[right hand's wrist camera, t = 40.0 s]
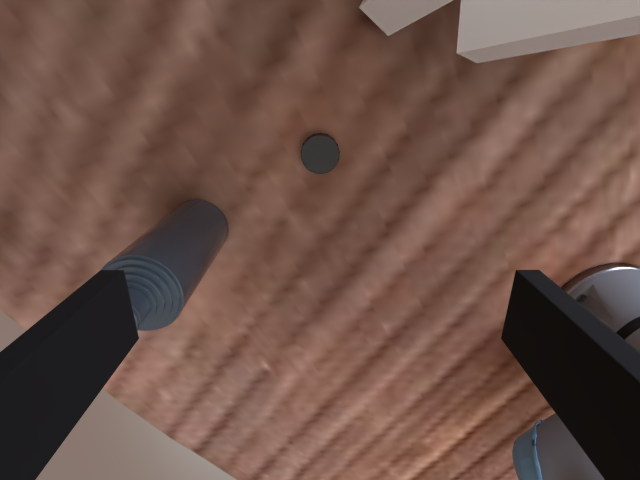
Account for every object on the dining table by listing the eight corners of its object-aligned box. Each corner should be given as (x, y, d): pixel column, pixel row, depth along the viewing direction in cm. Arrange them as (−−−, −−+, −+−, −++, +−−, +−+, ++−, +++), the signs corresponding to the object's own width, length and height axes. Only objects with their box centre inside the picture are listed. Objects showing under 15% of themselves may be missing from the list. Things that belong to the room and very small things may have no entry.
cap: (316, 178, 45) (316, 181, 44) (293, 148, 44) (292, 150, 42) (346, 156, 44) (347, 158, 43) (324, 124, 43) (324, 126, 41)
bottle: (159, 231, 48) (50, 327, 29) (189, 187, 46) (93, 259, 26) (208, 264, 50) (137, 375, 30) (239, 222, 48) (183, 314, 28)
